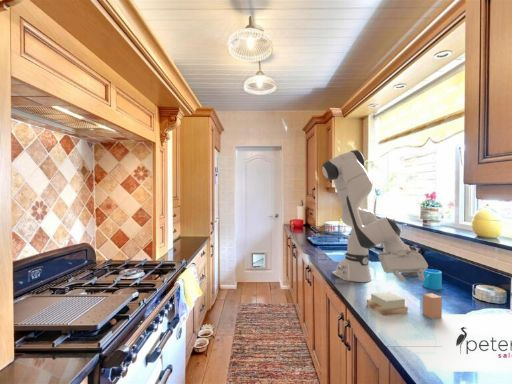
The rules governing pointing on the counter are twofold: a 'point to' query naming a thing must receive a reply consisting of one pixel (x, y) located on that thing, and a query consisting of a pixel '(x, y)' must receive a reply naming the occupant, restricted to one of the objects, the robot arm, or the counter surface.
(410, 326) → the counter surface
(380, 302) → the tower top
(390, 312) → the tower base
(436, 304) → the tall block
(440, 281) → the mug
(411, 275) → the coffeepot
